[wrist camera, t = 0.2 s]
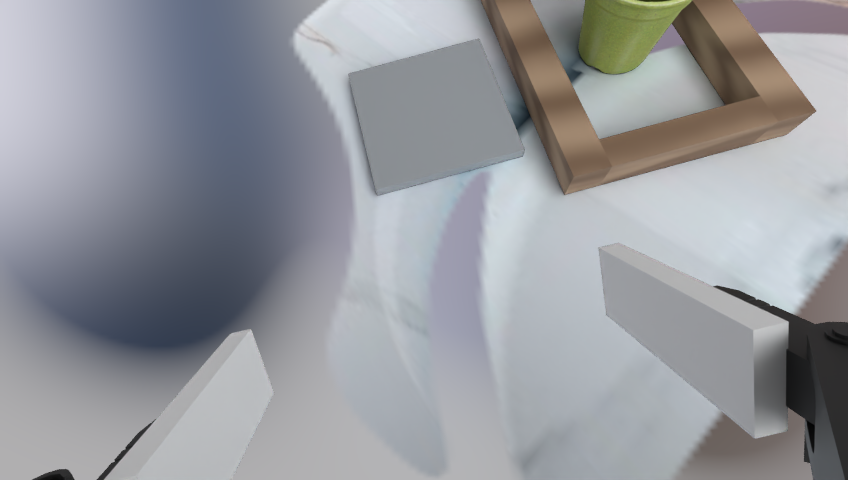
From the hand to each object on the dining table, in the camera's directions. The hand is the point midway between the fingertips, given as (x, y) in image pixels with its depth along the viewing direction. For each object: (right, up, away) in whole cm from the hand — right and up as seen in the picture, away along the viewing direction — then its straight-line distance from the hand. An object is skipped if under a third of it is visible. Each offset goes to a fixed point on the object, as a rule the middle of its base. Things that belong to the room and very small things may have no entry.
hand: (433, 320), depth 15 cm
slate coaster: (0, +14, +22) cm, 26 cm away
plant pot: (+17, +21, +23) cm, 36 cm away
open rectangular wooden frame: (+17, +21, +23) cm, 35 cm away
